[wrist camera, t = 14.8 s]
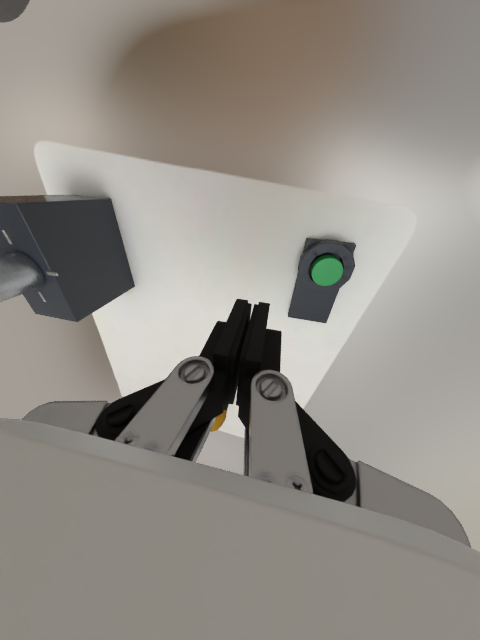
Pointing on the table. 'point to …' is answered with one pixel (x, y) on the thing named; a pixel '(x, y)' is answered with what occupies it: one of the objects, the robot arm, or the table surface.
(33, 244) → the dial panel
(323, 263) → the button
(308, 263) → the button block
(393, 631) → the robot arm
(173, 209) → the table surface
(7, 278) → the program dial
